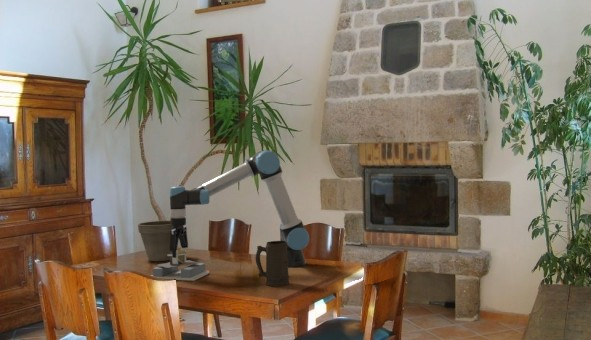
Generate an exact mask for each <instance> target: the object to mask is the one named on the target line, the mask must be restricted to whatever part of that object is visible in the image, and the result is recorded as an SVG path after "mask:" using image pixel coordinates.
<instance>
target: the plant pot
mask: <svg viewBox="0 0 591 340" xmlns="http://www.w3.org/2000/svg"><path fill="white" fill-rule="evenodd" d="M173 227H174V226H172V225H171V219H170V220H169V219H167V220H154V221H153V220H151V221H143V222H139V223H137V230H138V233H140V237H141V240H142V244H143V247H144V250H145V254H146V256H147V259H148V261H150V262H164V261H170V256H167V255H168V254H172V251H170V230H173Z"/></svg>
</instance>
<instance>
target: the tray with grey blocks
mask: <svg viewBox="0 0 591 340" xmlns="http://www.w3.org/2000/svg"><path fill="white" fill-rule="evenodd" d="M168 263H170V261H169V262H168ZM197 263H198V264H191V265H187V266H185V267H183V268H180V270H179V266H176V267H169V268H166V267H162V266H159V265H157V266H156V267H152V275H151V276H153V277H157V278H165V279H176V280H175V281H190V282H191V281H193V282H195V281H196V280H198V279H200V278H203V277H205V276H207V275H209V274H210V271H209V270H206V263H205V262H204V263H203V262H197Z"/></svg>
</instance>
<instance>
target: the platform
mask: <svg viewBox="0 0 591 340" xmlns="http://www.w3.org/2000/svg"><path fill="white" fill-rule="evenodd" d="M177 251H178V264H172V254H168V255H167V256H170V260H169V262H170V263H169V262H166V263H159V264H156V265H157V266H162V267H166V268H169V267H176V266H178V267H183V266H190V265H193V264H198V263H199V262H197V261H193V260H190V259H189V260H187V259H186V261H185V259H184V255H186V256H187V251H186V252H184V250H181V251H180V250H178V249H177Z"/></svg>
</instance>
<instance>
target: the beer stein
mask: <svg viewBox="0 0 591 340" xmlns="http://www.w3.org/2000/svg"><path fill="white" fill-rule="evenodd" d="M287 246H288V245H287V242H286V241H280V240H272V241H267V242H266V245H265V247H264V246H262V245H257V246H256V247H257V249H256V252H255V264H256V266H257V268H258V271H259V272H258V278H262V277H265V279H266V282H265V283H266V285H267V286H269V285H270V287H284V285H285V286H288V285H289V284H290V276H289V267H288V260H287ZM262 252H265V254H266V256H265V257H266V258H265V260H266V261H265V271H264V269H263V266H262V263H261V254H262Z"/></svg>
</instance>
